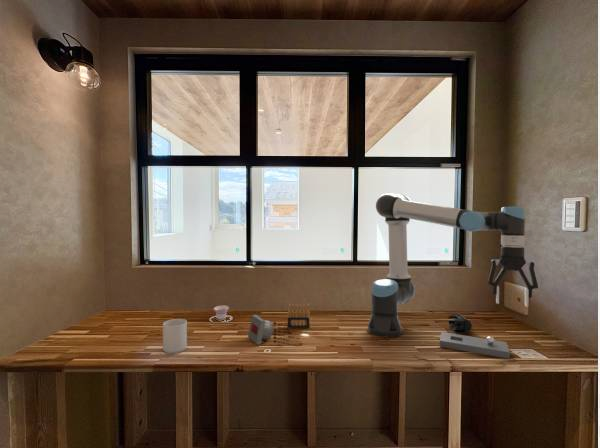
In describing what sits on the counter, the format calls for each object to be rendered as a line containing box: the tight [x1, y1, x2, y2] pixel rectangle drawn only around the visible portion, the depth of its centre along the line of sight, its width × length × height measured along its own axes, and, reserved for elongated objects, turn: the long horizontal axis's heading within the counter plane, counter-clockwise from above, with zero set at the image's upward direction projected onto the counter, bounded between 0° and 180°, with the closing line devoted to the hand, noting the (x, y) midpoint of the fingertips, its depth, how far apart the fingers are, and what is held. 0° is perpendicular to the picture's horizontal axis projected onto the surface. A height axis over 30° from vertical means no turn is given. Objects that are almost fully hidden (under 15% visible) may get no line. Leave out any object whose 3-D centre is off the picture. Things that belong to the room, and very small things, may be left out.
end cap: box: [448, 312, 473, 335], centre depth 147 cm, size 10×7×7 cm
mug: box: [162, 318, 188, 355], centre depth 125 cm, size 12×9×11 cm
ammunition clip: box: [286, 302, 311, 329], centre depth 150 cm, size 11×2×12 cm, turn 89°
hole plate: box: [439, 331, 511, 360], centre depth 127 cm, size 24×11×2 cm, turn 62°
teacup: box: [209, 305, 234, 324], centre depth 162 cm, size 12×12×6 cm
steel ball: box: [485, 336, 496, 344], centre depth 124 cm, size 3×3×3 cm
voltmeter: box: [247, 314, 303, 347], centre depth 131 cm, size 27×11×10 cm, turn 67°
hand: (511, 304), depth 121 cm, fingers open, 9 cm apart
